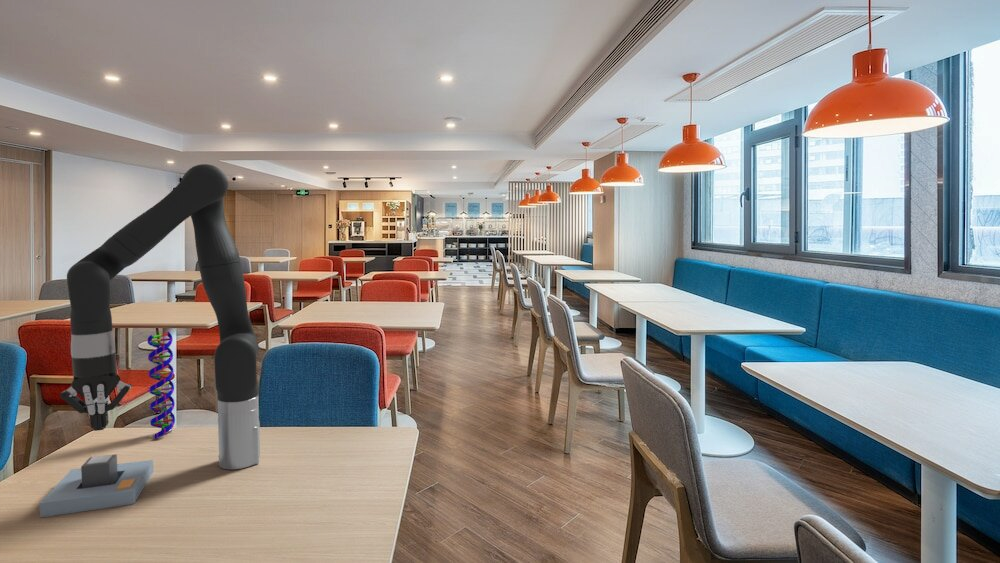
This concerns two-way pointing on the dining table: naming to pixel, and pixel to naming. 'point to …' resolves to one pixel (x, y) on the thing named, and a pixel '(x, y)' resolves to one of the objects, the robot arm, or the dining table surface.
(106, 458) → the plug
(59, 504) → the socket plate
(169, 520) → the dining table surface
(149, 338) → the dna model
